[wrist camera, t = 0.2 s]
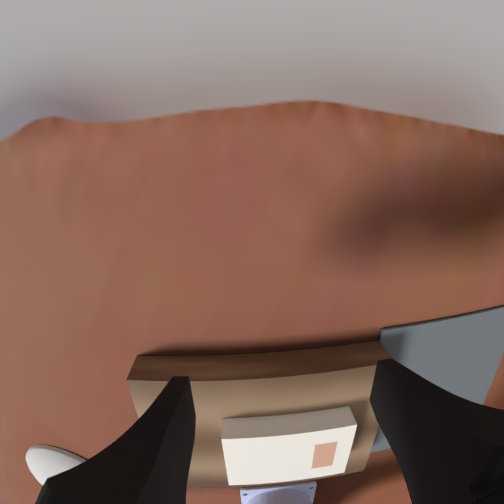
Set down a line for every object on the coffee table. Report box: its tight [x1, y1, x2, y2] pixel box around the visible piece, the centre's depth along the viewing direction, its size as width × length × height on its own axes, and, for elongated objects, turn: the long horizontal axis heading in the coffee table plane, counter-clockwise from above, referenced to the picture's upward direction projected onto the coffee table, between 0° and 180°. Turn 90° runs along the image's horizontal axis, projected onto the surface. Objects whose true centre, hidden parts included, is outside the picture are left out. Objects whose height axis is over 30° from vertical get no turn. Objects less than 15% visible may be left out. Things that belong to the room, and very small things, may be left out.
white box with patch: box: [221, 406, 357, 485], centre depth 20 cm, size 9×6×2 cm, turn 92°
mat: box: [370, 306, 504, 453], centre depth 25 cm, size 15×16×1 cm
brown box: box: [127, 340, 394, 488], centre depth 23 cm, size 13×18×3 cm
